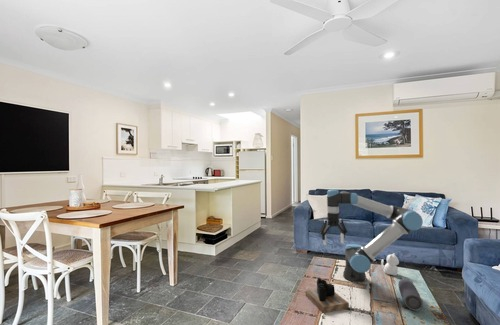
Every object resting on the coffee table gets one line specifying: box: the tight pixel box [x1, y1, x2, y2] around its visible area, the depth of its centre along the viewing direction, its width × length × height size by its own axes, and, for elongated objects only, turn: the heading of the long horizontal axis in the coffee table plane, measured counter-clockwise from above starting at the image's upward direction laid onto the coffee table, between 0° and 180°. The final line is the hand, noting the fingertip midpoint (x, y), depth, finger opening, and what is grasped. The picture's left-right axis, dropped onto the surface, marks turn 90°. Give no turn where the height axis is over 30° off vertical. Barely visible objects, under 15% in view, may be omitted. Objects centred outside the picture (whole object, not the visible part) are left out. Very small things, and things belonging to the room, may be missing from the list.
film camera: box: [316, 277, 336, 301], centre depth 149 cm, size 15×10×9 cm, turn 171°
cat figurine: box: [380, 252, 400, 276], centre depth 189 cm, size 9×12×15 cm
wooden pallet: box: [305, 288, 350, 314], centre depth 148 cm, size 16×20×3 cm
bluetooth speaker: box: [397, 277, 423, 311], centre depth 147 cm, size 23×9×10 cm, turn 157°
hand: (333, 244), depth 172 cm, fingers open, 13 cm apart
